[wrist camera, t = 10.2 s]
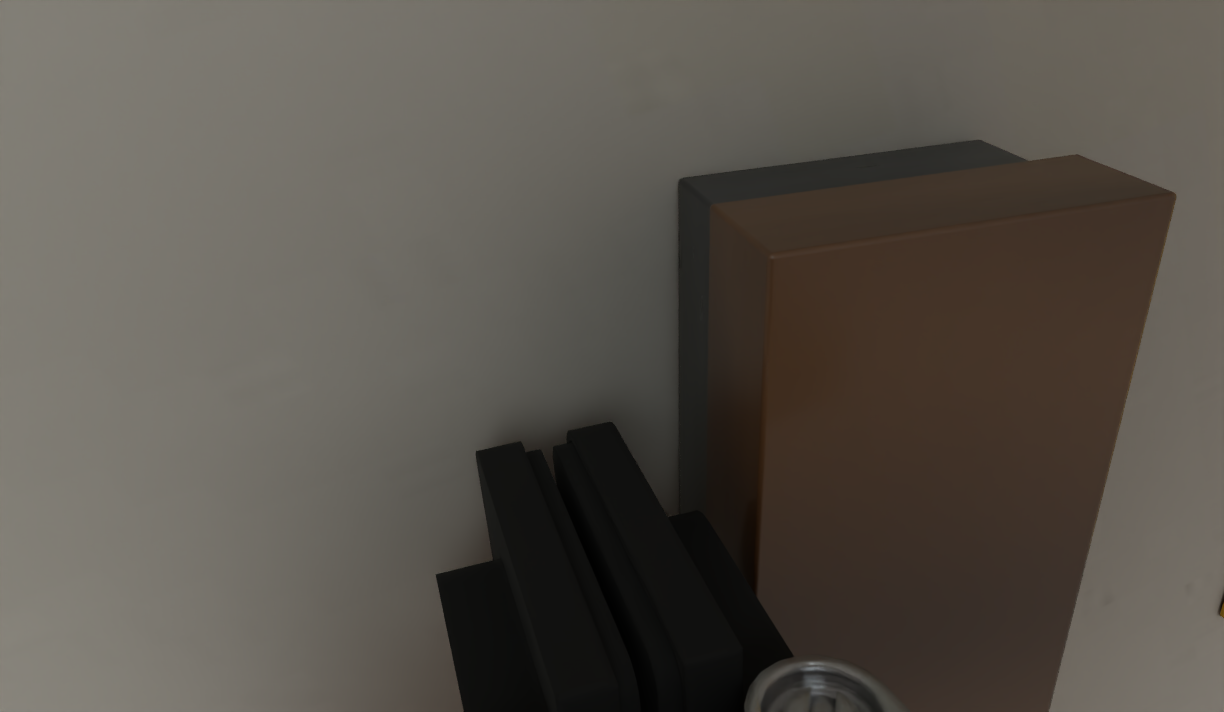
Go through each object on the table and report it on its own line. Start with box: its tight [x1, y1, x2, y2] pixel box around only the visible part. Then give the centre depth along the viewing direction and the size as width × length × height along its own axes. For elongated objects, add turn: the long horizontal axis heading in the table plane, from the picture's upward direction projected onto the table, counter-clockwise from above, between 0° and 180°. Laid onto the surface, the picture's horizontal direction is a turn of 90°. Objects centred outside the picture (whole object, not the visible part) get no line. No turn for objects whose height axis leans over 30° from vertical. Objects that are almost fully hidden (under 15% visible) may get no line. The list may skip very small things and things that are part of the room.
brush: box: [679, 140, 1176, 712], centre depth 13 cm, size 9×4×3 cm, turn 2°
